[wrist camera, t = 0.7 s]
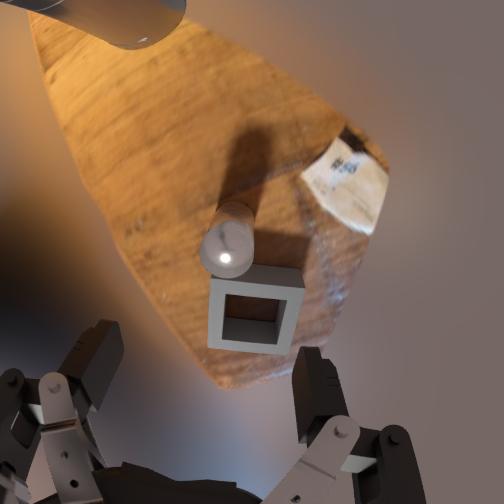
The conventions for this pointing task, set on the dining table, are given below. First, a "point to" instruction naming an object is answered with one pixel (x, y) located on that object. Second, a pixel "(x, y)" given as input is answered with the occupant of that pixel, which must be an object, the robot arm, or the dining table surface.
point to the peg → (229, 241)
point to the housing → (250, 331)
